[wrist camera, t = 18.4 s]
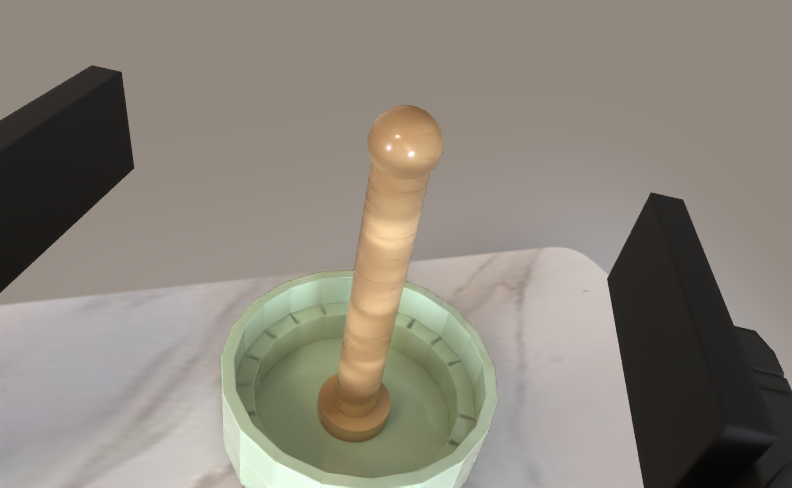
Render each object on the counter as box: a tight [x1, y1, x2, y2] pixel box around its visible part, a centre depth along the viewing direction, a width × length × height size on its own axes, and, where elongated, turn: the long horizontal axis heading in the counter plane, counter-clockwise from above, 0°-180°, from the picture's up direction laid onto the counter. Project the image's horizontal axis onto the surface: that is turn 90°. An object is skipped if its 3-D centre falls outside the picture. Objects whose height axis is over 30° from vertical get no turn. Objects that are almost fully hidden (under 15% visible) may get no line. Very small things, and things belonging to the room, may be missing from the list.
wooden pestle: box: [317, 105, 443, 443], centre depth 30 cm, size 4×4×20 cm
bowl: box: [221, 270, 498, 488], centre depth 35 cm, size 15×15×6 cm
